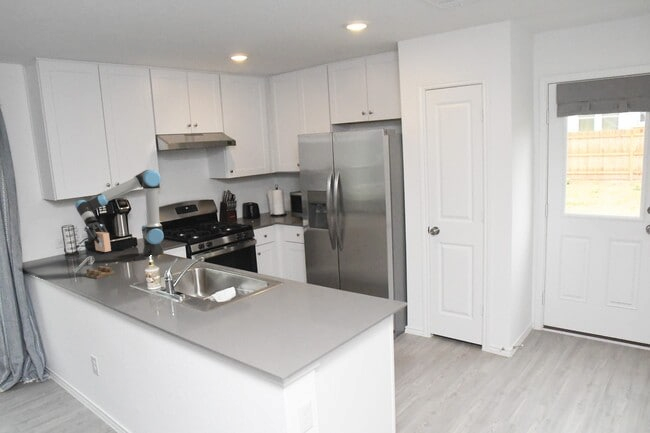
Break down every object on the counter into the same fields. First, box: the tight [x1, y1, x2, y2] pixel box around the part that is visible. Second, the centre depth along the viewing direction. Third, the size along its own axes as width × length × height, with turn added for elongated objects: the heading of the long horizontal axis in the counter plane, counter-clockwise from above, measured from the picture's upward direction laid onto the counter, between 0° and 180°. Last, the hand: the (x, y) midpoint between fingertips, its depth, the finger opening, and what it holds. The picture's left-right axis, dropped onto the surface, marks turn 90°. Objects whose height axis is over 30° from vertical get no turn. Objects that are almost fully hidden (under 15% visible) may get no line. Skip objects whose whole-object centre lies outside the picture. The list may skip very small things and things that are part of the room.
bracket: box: [72, 255, 96, 274], centre depth 324 cm, size 3×21×10 cm, turn 174°
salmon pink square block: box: [94, 231, 112, 253], centre depth 306 cm, size 12×4×12 cm, turn 54°
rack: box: [84, 265, 116, 279], centre depth 303 cm, size 15×12×4 cm
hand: (105, 245), depth 304 cm, fingers closed on salmon pink square block, 4 cm apart
